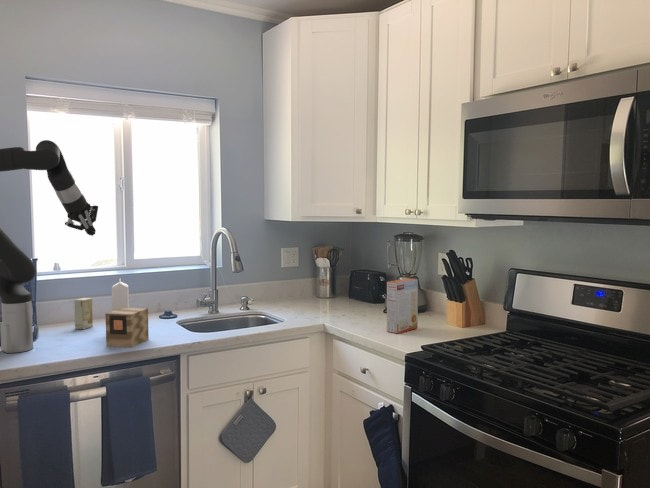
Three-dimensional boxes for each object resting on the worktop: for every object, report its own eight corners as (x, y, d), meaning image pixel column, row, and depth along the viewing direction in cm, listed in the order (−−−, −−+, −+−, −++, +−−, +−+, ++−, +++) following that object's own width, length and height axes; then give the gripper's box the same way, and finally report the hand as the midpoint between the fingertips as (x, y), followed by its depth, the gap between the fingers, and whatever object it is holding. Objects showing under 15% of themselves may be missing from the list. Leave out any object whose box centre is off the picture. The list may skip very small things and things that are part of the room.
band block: (131, 347, 195) (130, 314, 194) (106, 346, 197) (105, 313, 196) (148, 339, 207) (147, 308, 206) (124, 338, 209) (124, 307, 208)
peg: (122, 330, 195) (122, 320, 195) (113, 329, 196) (113, 319, 196) (140, 323, 207) (140, 313, 207) (132, 322, 208) (131, 313, 208)
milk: (112, 335, 214) (110, 279, 212) (114, 331, 220) (112, 277, 218) (129, 334, 216) (127, 279, 214) (130, 330, 221) (128, 277, 220)
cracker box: (406, 326, 230) (407, 277, 229) (418, 328, 226) (418, 279, 224) (385, 331, 220) (386, 280, 219) (397, 334, 216) (398, 282, 215)
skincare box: (83, 329, 223) (82, 300, 222) (74, 329, 224) (73, 299, 223) (93, 326, 229) (92, 297, 228) (84, 325, 230) (83, 297, 229)
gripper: (80, 182, 190) (101, 220, 201) (48, 203, 183) (71, 241, 194) (92, 188, 186) (113, 226, 197) (59, 209, 179) (82, 248, 190)
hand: (92, 234), depth 196 cm, fingers closed
